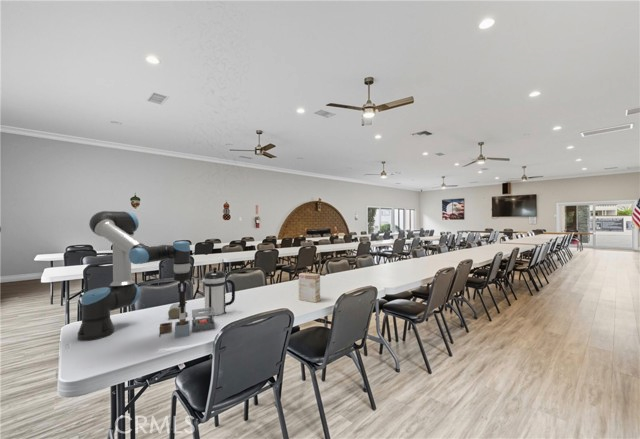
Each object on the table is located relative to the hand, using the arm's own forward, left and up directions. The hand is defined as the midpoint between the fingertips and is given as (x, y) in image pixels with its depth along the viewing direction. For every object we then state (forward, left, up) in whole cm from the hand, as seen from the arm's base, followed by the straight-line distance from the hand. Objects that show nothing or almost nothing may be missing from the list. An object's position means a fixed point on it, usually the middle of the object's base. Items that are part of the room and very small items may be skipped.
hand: (182, 318), depth 146 cm
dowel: (0, 0, -9) cm, 9 cm away
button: (+10, +6, -10) cm, 15 cm away
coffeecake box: (+84, +34, -10) cm, 91 cm away
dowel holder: (-8, +8, -10) cm, 15 cm away
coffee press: (+19, +29, -10) cm, 36 cm away
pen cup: (0, 0, -10) cm, 10 cm away
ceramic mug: (-3, +36, -10) cm, 37 cm away
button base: (+10, +6, -10) cm, 15 cm away
